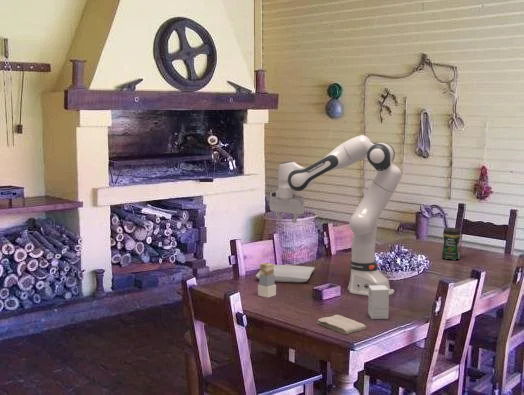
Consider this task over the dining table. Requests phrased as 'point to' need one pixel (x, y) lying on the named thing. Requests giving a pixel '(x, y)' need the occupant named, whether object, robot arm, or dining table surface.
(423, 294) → the dining table surface
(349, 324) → the washcloth
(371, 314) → the supplement box
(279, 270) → the square plate
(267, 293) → the tower base
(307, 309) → the dining table surface
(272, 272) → the beech cube
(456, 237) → the coffee jar
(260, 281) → the tower top
